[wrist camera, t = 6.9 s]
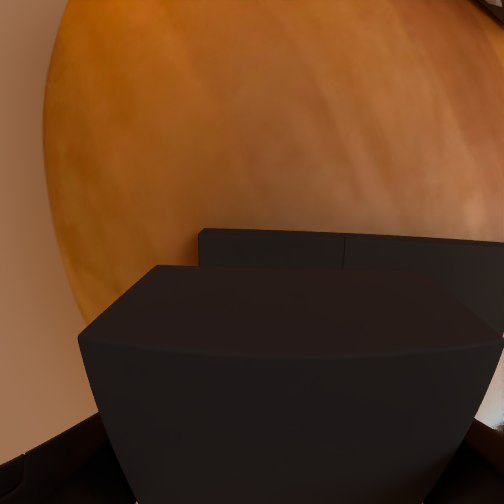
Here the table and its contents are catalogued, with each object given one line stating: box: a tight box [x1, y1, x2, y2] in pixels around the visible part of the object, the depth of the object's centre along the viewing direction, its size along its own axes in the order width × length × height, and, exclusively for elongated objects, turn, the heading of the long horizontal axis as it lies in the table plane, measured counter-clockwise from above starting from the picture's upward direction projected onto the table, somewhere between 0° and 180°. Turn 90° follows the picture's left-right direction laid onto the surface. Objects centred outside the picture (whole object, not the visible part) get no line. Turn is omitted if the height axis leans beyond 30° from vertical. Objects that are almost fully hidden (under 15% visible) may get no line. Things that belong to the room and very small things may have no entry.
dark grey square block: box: [78, 265, 504, 504], centre depth 6 cm, size 6×6×4 cm
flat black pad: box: [198, 228, 504, 336], centre depth 18 cm, size 20×15×2 cm
